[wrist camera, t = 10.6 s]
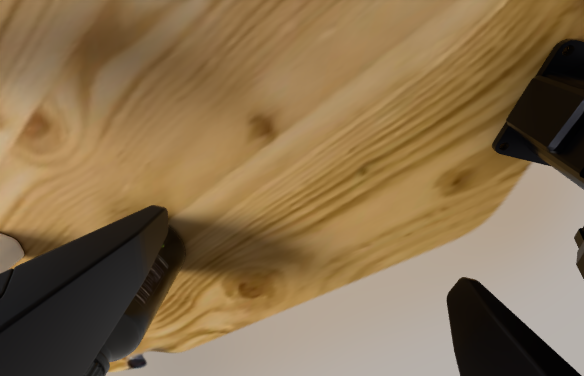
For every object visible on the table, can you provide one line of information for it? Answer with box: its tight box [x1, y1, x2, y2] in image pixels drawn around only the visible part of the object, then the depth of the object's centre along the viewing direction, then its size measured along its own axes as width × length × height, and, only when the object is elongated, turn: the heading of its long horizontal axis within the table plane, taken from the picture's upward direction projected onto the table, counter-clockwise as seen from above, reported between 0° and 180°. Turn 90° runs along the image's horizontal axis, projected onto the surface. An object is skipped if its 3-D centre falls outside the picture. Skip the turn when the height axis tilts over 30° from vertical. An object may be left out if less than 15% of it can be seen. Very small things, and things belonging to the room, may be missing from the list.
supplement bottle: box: [84, 226, 186, 376], centre depth 22 cm, size 7×7×12 cm
